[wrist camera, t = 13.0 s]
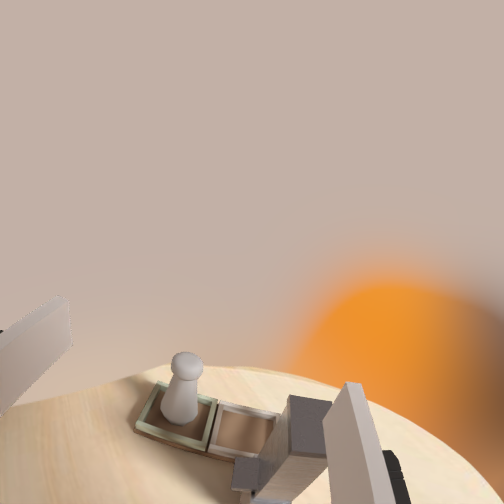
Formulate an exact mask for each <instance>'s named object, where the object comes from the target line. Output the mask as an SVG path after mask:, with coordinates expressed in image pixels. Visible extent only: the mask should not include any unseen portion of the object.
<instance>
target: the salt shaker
mask: <svg viewBox="0 0 504 504" xmlns="http://www.w3.org/2000/svg"><path fill="white" fill-rule="evenodd" d="M171 370H172V372H173V374H174V375H173V377H172V379H171V381H170V384H169V386H168V388H167V390H166V392H165V394H164V397H163V399H162V401H161V407H160V408H161V411H162V413H163V415H164V417H165V418H166V419H167V420H168V421H169V422H170V424H171V425H176V426H185V425H186V424H187V423H189V422H191V421H193V420H194V419H195V417H196V416H197V414H198V403H197V379H198V378H199V377H200V376H201V374H202V372H203V361H202V360H201V358H199V357H198V356H197V355H195V354H193V353H190V352H181V353H178V354H176V355H175V356H174V357H173V359H172V363H171Z"/></svg>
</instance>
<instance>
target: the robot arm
mask: <svg viewBox="0 0 504 504" xmlns="http://www.w3.org/2000/svg"><path fill="white" fill-rule="evenodd" d="M72 346H73V342H72V335H71V323H70V311H69V300H68V299H65V298H63V297H61V296H59V295H57V296H55V297H54V298H52V299H51V300H49V301H48V302H46V303H45V304H43V305H42V306H40V307H38V308H37V309H35V310H34V311H32V312H31V313H29V314H28V315H27V316H25V317H24V318H22V319H21V320H19V321H18V322H16V323H15V324H14V325H12V326H11V327H9V328H8V329H6V330H5V331H2V330H0V417H1V416H2V415H3V414H4V413H5V412H6V411H7V410H8V409H9V408H10V407H11V406H12V405H13V404H14V403H15V402H16V400H17V399H18V398H19V397H20V396H21V395H22V394H23V393H24V392H25V391H26V390H27V389H28V388H29V387H30V386H31V385H32V384H33V383H34V382H35V381H36V380H37V379H38V378H39V377H40V376H41V375H42V374H43V373H44V372H45V371H46V370H47V369H48V368H49V367H51V365H52V364H54V362H56V361H57V360H58V359H59V358H60V357H61V356H62V355H63V354H64V353H65V352H66V351H67V350H68V349H69V348H70V347H72ZM322 422H323V430H324V438H325V446H326V454H327V463H328V472H329V482H330V492H331V503H332V504H411V501H410V498H409V494H408V490H407V487H406V484H405V480H403V478H404V477H403V473H402V472H401V467H400V464H399V460H398V459H397V457H396V456H395V455H394V453H393V452H392V451H391V450H382V449H381V446H380V442H379V439H378V435H377V432H376V429H375V426H374V422H373V419H372V416H371V413H370V410H369V406H368V403H367V400H366V397H365V394H364V391H363V388H362V385H361V384H360V383H352V382H346V383H345V384H344V386H343V388H342V389H341V391H340V393H339V395H338V396H337V398H336V400H335V401H334V403H333V405H332V406H331V408H330V409H329V411H328V413H327V414H326V416H325V417H324V419H323V421H322Z"/></svg>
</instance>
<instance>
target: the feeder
mask: <svg viewBox="0 0 504 504" xmlns="http://www.w3.org/2000/svg"><path fill="white" fill-rule="evenodd" d="M331 406H332V401H325V400H318V399H312V398H306V397H300V396H295V395H289V397H288V399H287V406H286V407H285V409H284V411H283V413H282V415H281V417H280V418H279V420H278V422H277V424H276V425H275V427H274V429H273V431H272V432H271V434H270V436H269V438H268V439H267V441H266V443H265V444H264V446H263V448H262V449H261V451H260V453H259V454H254V456H253V458H249V457H235V464H234V471H233V477H232V484H231V490H232V491H241V496H240V504H291V502H292V501H293V500H294V499H295V498H296V497H297V496H298V495H299V494H301V493H302V492H303V491H304V490H305V489H306V488H307V487H308V486H309V485H310V484H311V483H312V482H313V481H314V480H315V479H316V478H317V477H318V476H319V475H320V474H321V473H322V472H323V471H324V470H325V469H326V468H327V467H328V463H327V454H326V446H325V438H324V430H323V422H322V421H323V419H324V417H325V416H326V414H327V413H328V411H329V409H330V408H331Z"/></svg>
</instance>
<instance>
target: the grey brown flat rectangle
mask: <svg viewBox="0 0 504 504" xmlns="http://www.w3.org/2000/svg"><path fill="white" fill-rule="evenodd" d="M168 386H169V384H166V383H163V382H161V381H157V383H156V385H155V387H154V389H153V391H152V393H151V395H150V397H149V399H148V400H147V402H146V404H145V406H144V408H143V410H142V412H141V414H140V416H139V418H138V420H137V422H136V426H135V428H134V432H135V433H137V434H140V435H142V436H145V437H147V438H150V439H153V440H156V441H158V442H161V443H164V444H167V445H170V446H173V447H176V448H179V449H182V450H186V451H189V452H193V453H196V454H200V455H203V456H207V457H211V458H215V459H219V460H224V461H228V462H233V463H235V457H249V458H253V456H254V454H259V453H260V451H261V449H262V448H263V446H264V444H265V443H266V441H267V439H268V438H269V436H270V434H271V432H272V431H273V429H274V427H275V425H276V424H277V422H278V420H279V418H280V417H281V414H279V413H274V412H269V411H264V410H259V409H254V408H250V407H246V406H241V405H237V404H233V403H229V402H225V401H221V400H220V402H219V404H217V401H218V399H214V398H211V397H207V396H204V395H200V394H197V403H198V414H197V416H196V417H195V419H194V420H193V421H191V422H189V423H187V424H186V425H185V426H176V425H171V424H170V422H169V421H168V420H167V419H166V418H165V417H164V415H163V413H162V411H161V408H160V407H161V401H162V399H163V397H164V394H165V392H166V390H167V388H168Z"/></svg>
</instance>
